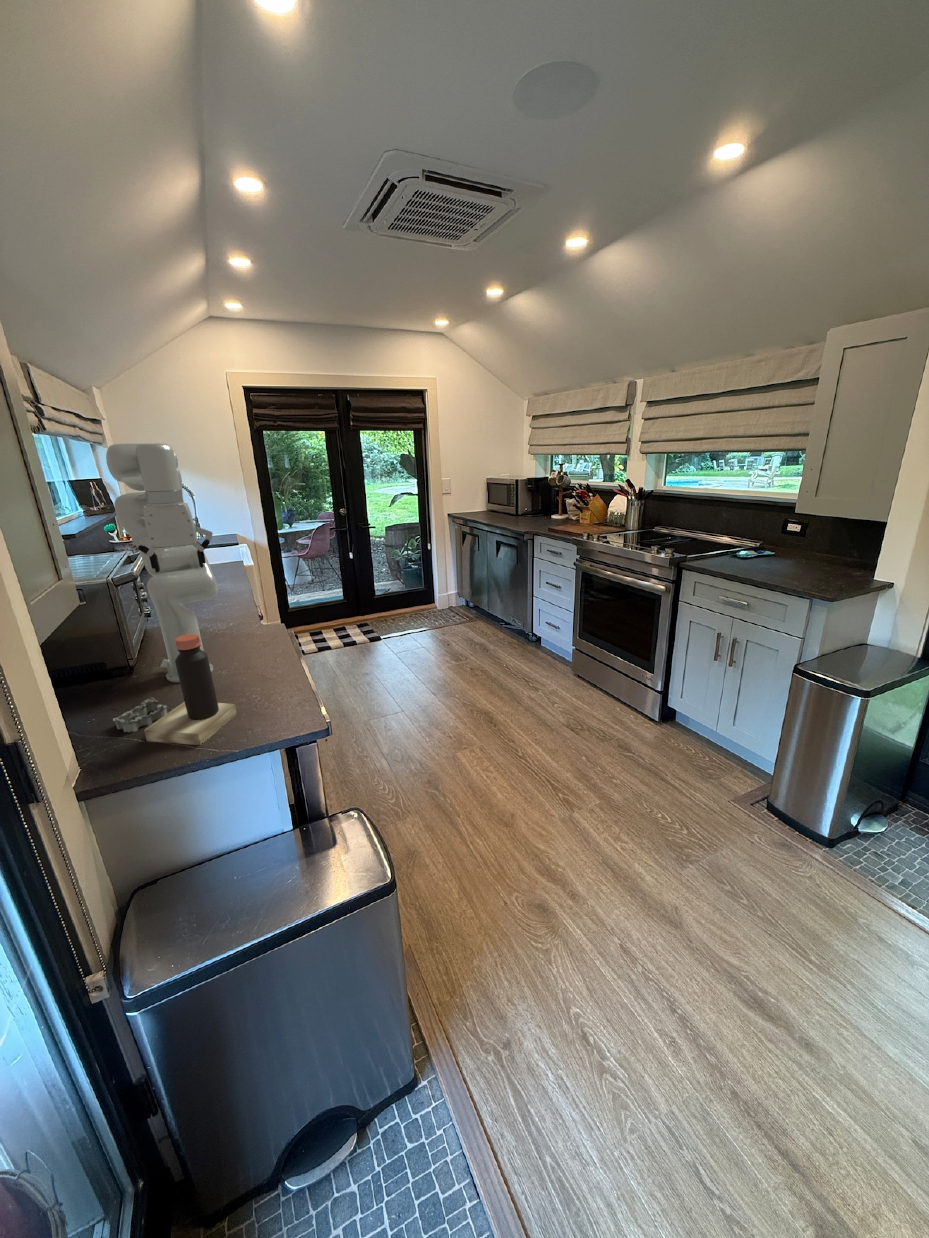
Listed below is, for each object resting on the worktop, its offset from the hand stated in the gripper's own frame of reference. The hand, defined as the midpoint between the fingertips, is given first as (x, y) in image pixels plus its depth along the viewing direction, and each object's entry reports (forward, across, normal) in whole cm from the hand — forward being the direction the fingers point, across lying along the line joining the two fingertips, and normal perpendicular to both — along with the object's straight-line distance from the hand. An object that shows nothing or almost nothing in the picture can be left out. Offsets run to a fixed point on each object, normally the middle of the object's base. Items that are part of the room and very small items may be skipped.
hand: (180, 568), depth 122 cm
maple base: (+36, -3, -15) cm, 39 cm away
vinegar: (+34, 0, -15) cm, 37 cm away
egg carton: (+37, -15, -6) cm, 40 cm away
